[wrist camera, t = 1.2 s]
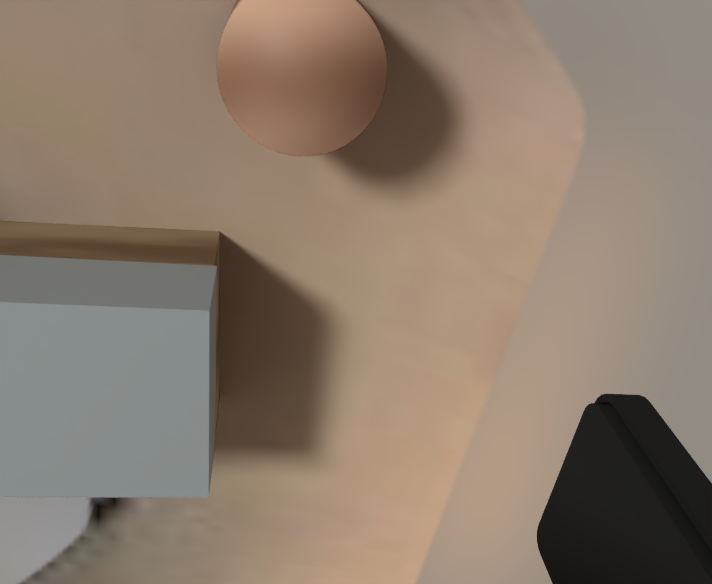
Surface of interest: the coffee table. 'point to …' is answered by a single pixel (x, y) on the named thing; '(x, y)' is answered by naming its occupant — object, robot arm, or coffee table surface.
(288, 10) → the drum
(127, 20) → the coffee table surface
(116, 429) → the upper slab
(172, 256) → the lower slab
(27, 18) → the coffee table surface
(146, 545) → the coffee table surface
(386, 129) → the coffee table surface
